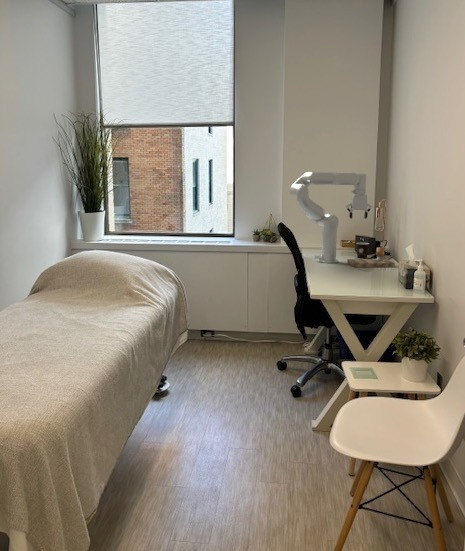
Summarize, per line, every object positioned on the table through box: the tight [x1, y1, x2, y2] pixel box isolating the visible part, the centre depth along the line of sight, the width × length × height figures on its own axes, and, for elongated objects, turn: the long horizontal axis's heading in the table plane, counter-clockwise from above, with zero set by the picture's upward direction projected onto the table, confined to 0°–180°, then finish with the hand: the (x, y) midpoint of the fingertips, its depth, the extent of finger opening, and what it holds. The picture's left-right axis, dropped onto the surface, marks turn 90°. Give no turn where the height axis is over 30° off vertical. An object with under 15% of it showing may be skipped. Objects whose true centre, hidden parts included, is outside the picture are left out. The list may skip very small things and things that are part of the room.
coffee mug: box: [355, 242, 375, 259], centre depth 371 cm, size 12×9×10 cm
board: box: [346, 258, 396, 268], centre depth 344 cm, size 26×16×3 cm, turn 93°
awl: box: [375, 246, 385, 262], centre depth 344 cm, size 5×5×11 cm
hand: (358, 218), depth 357 cm, fingers open, 9 cm apart
